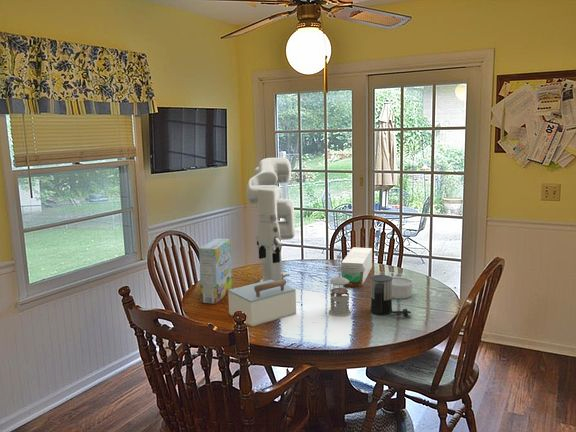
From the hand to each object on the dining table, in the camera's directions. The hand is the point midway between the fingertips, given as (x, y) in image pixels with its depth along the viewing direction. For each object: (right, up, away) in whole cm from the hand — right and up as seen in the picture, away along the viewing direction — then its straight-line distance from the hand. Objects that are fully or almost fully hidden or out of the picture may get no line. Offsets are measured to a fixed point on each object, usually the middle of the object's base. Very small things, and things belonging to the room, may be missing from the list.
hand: (269, 260), depth 206 cm
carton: (-3, -24, +10) cm, 26 cm away
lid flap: (-3, -14, +8) cm, 16 cm away
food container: (+38, -17, +42) cm, 59 cm away
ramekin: (+58, -19, +29) cm, 68 cm away
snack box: (-26, -20, +34) cm, 47 cm away
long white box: (+44, -13, +63) cm, 78 cm away
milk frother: (+50, -23, +7) cm, 56 cm away
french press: (+29, -23, +10) cm, 38 cm away
